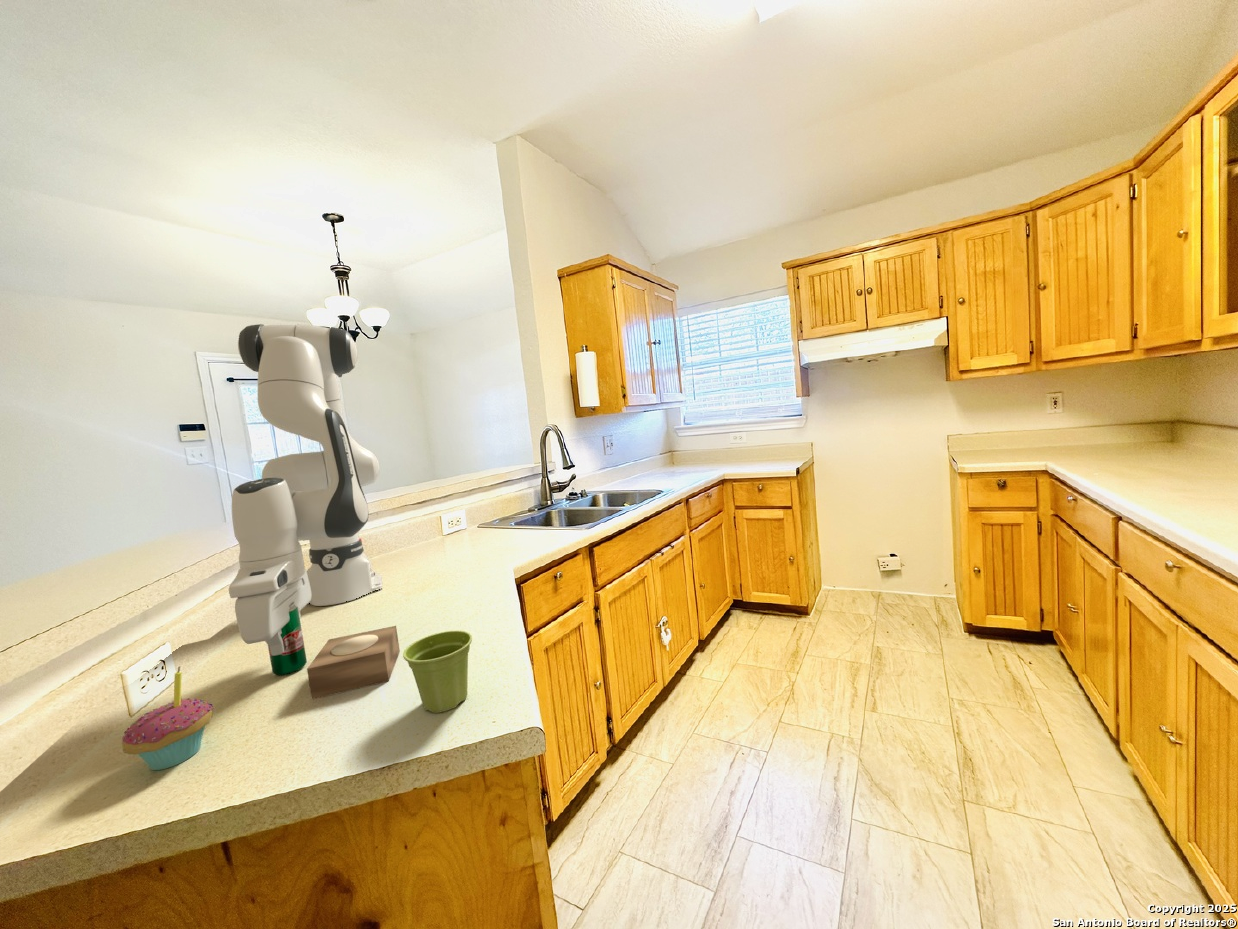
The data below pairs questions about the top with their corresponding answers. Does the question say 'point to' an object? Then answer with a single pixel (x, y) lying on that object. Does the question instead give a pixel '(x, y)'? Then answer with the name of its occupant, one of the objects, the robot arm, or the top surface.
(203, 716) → the cupcake
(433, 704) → the plant pot
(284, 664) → the soda can
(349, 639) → the plinth
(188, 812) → the top surface
